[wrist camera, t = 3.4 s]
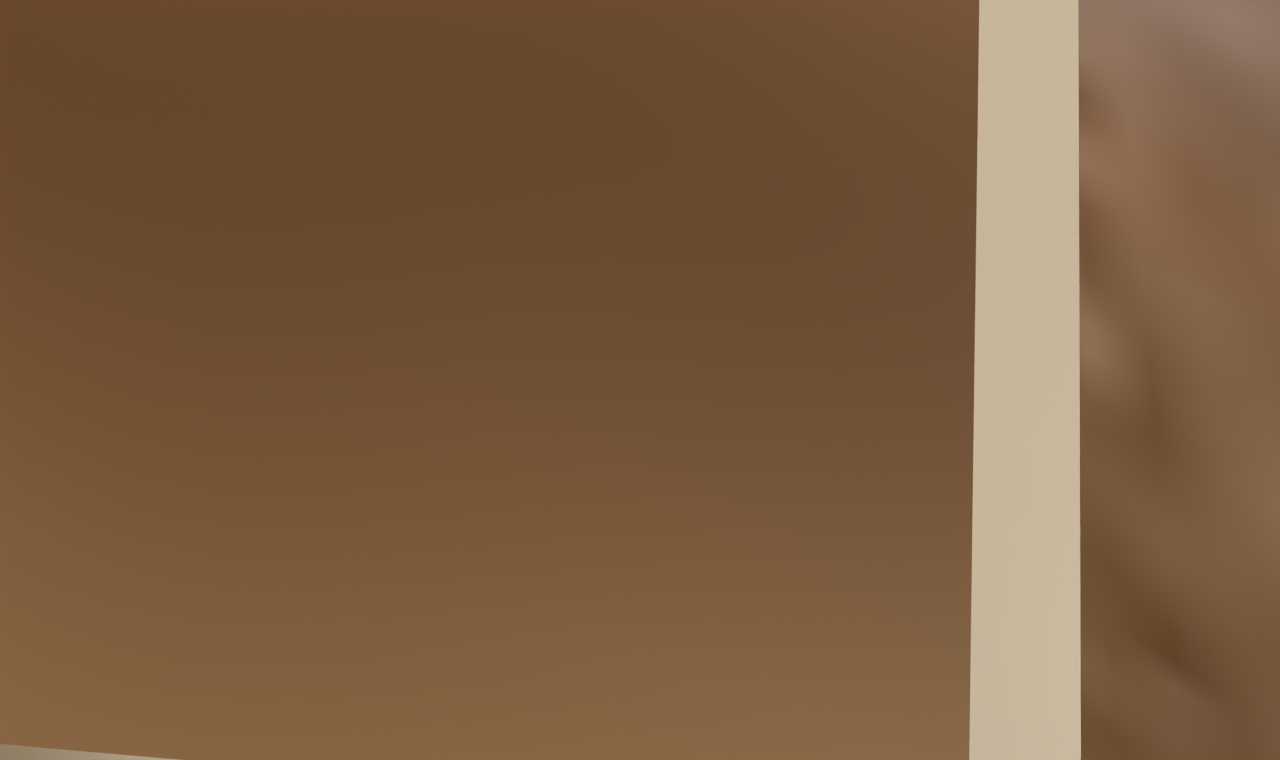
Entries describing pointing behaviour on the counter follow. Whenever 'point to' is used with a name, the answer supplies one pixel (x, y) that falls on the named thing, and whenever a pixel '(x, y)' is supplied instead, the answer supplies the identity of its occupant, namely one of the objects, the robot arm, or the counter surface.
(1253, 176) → the counter surface
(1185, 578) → the counter surface
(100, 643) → the walnut block
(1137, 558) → the counter surface
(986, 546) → the cutting board
